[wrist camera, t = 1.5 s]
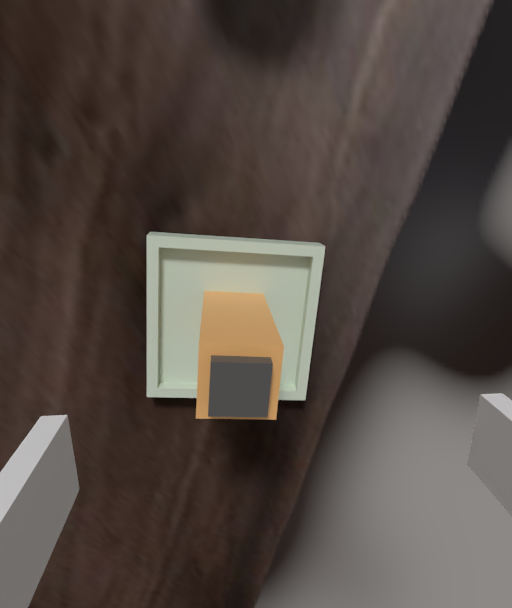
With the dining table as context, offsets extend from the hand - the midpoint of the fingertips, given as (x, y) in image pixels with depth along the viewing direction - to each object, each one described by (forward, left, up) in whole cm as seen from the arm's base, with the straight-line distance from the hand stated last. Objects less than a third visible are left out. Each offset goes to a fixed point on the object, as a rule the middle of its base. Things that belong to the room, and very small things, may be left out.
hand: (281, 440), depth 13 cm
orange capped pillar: (-1, -3, -19) cm, 19 cm away
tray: (-1, -3, -20) cm, 20 cm away
